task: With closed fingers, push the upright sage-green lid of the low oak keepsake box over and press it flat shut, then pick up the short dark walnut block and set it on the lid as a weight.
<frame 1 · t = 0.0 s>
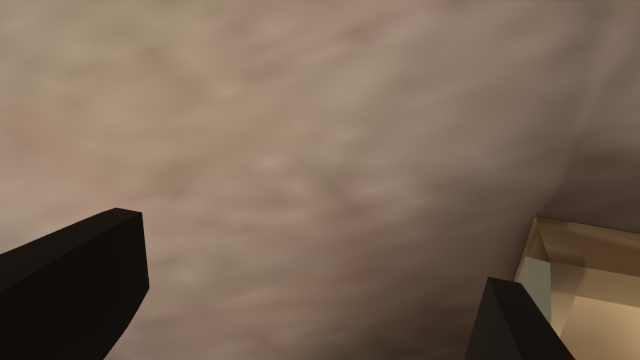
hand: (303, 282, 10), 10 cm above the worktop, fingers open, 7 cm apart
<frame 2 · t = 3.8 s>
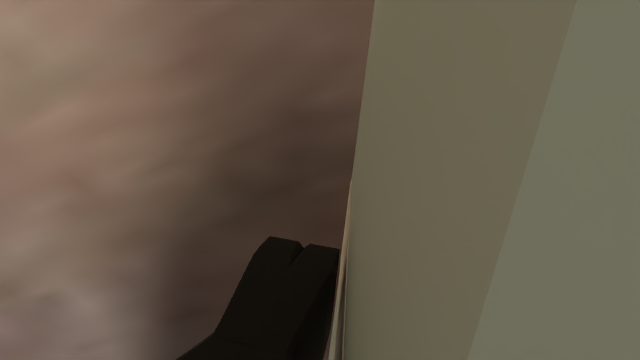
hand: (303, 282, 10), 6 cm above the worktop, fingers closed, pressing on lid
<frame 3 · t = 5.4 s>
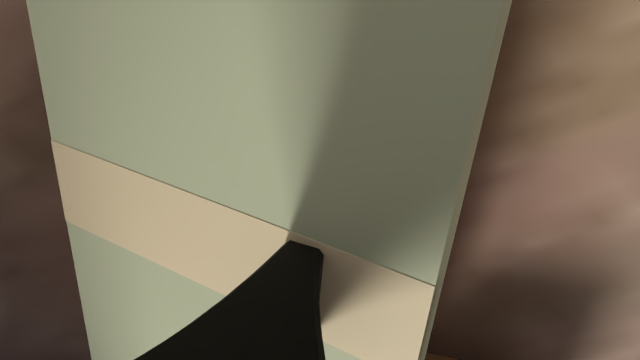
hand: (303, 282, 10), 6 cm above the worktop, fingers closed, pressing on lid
lid: (220, 237, 12), point 5 cm above the worktop, hinge at 16.8°, touching gripper
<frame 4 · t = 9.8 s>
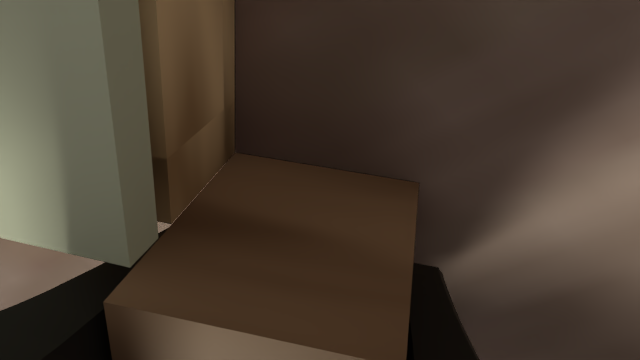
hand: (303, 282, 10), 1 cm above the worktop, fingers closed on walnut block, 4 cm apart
walnut block: (317, 244, 12), on the worktop, touching gripper
when the fingers open (6 cm above the worktop, at t = 12.3 s): walnut block stays where it is, resting on lid.
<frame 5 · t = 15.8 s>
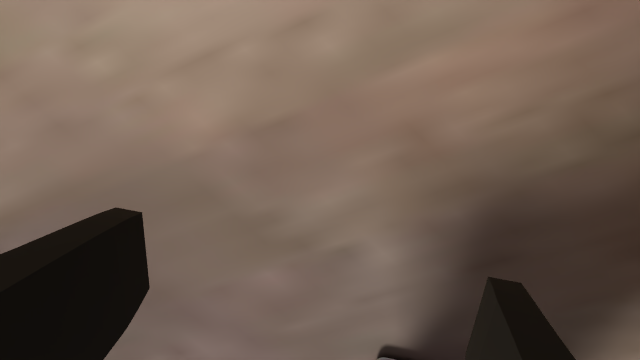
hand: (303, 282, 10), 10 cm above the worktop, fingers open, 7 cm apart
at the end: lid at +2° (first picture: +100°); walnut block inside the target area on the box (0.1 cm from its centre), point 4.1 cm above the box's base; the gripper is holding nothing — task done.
